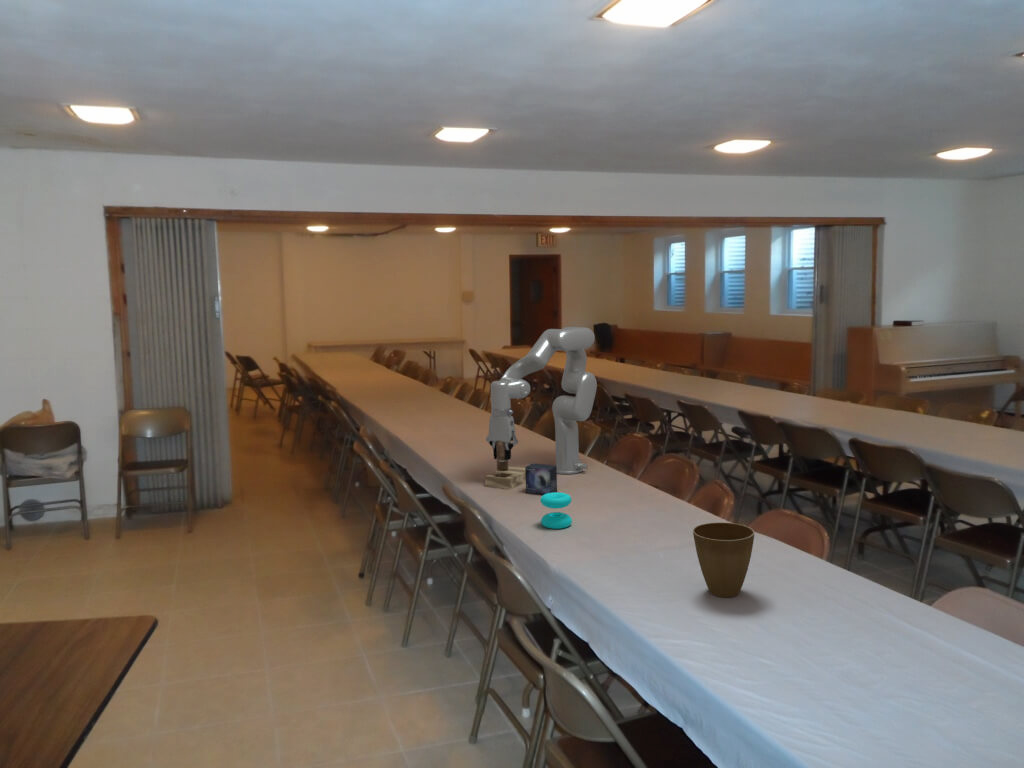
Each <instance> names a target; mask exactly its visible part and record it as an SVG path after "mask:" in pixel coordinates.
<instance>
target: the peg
mask: <svg viewBox="0 0 1024 768" xmlns="http://www.w3.org/2000/svg"><path fill="white" fill-rule="evenodd" d="M505 450H506V447H505V442H501V441H496V452H497V459H496V470H497V471H496V472H498V471H507V470H508V467H509V460H505Z"/></svg>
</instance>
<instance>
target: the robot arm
mask: <svg viewBox="0 0 1024 768" xmlns="http://www.w3.org/2000/svg"><path fill="white" fill-rule="evenodd" d="M595 340H596V336H595V333H594V332H593V330H592V329H591V328H589V327H580V326H579V327H577V326H565V327H563V328H561V329H560V328H548V329H546V330H545V331H543V332H542V334H541V335H540V336H539V338H538V339H537V340H536V342H535V343H534V345H533V346H532V347H531V349H530V350H529V351H528V352H527V354H526V355H525V356H523V357H521V358H520V359H519V360H517V361H515V363H513V364H511V366H510V367H509V368H507V370H506V371H505V372H504V374H503V375H502V376H501V378H500V379H499V380H494V381H492V382H491V383H490V405H491V410H490V412H491V415H490V417H489V423H488V435H487V436H486V438H485V441H486V442H487V443H489V445H490V446H491V449H492V450H493V459H494V460H497V452H496V441H501V442H505V447H506V450H505V460H508V461H509V460H511V459H512V449H513V447H515V445H517V444H518V443H519V440H518V439H517V433H516V426H515V421H514V416H513V414H514V410H512V406H511V403H512V402H511V399H519V400H520V399H524V398H526V397H528V395H529V394H530V393H531V385H530V383H529V382H528V381H526V380H524V379H523V378H524V377H526V376H528V375H530V374H532V373H534V372H539V371H541V370H542V369H544V368H545V367H546V365H547V364H548V363H549V361H550V360H551V358H552V357H553V356H554V354H555V353H556V352H557V351H562V352H563V351H564V352H565V355H566V361H565V366H564V371H563V374H562V379H561V382H560V384H561V389H562V390H563V391H564V392H566V393H569V394H575V396H572V395H560V396H557V397H556V398H555V399H554V400H553V402H552V407H551V408H552V410H551V411H552V414H553V419H554V428H555V429H554V431H555V433H554V434H555V435H554V436H555V465H556V466H557V475H558V474H559V475H575V474H580V473H582V472H583V471H584V470H587V469H588V464H587V463H582V460H581V459H580V457H579V456H580V454H579V451H580V449H579V448H580V447H579V446H580V445H579V443H580V442H579V425H578V423H577V422H584V421H586V420H588V419H589V417H590V416H591V413H592V411H593V406H594V402H595V397H596V393H597V387H598V383H597V382H598V381H597V379H596V376H595V375H594V374H593V373H592V372H589V371H586V369H587V362H588V357H587V353H586V350H587V349H589V348H591V347H592V346H593V345H594V342H595Z"/></svg>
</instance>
